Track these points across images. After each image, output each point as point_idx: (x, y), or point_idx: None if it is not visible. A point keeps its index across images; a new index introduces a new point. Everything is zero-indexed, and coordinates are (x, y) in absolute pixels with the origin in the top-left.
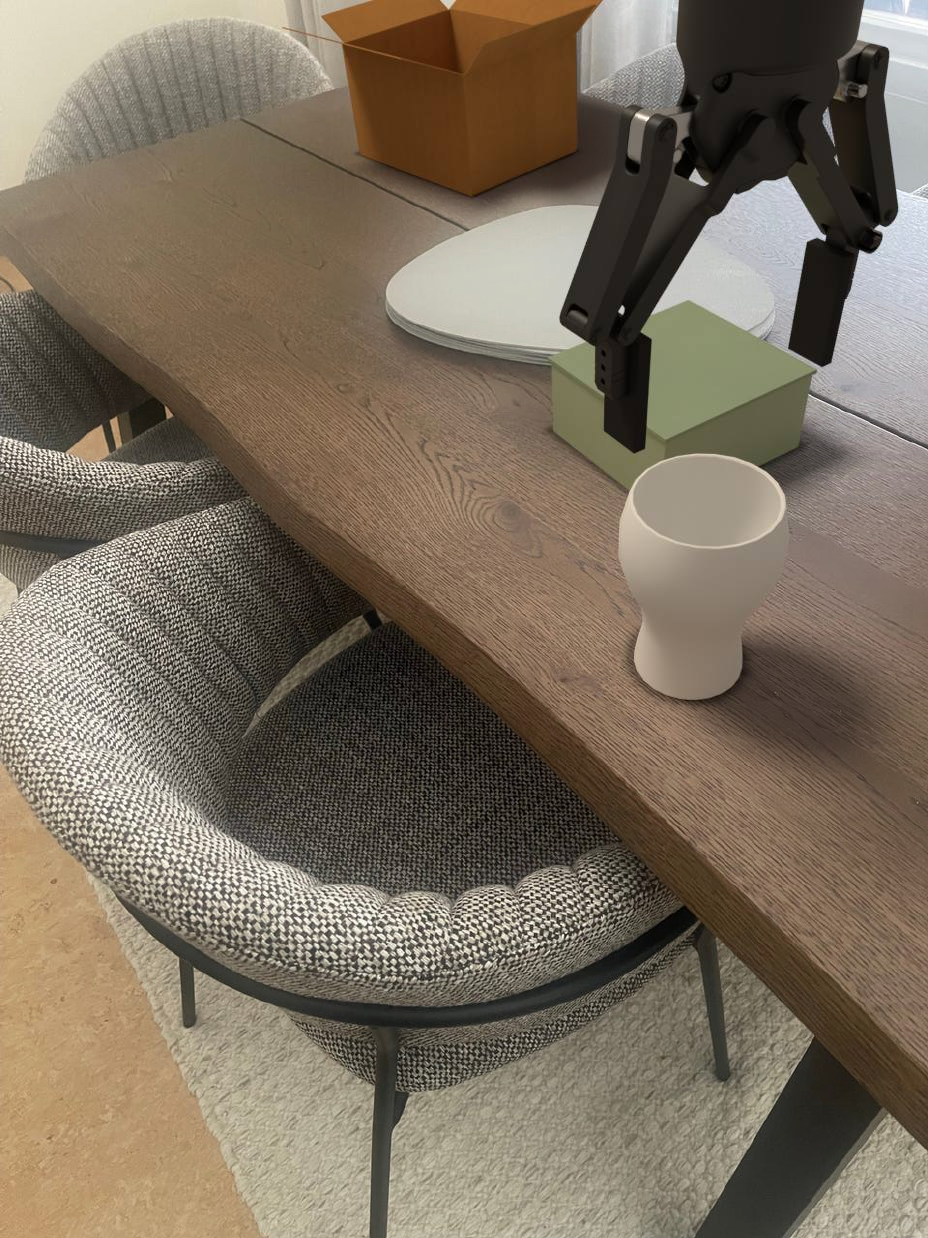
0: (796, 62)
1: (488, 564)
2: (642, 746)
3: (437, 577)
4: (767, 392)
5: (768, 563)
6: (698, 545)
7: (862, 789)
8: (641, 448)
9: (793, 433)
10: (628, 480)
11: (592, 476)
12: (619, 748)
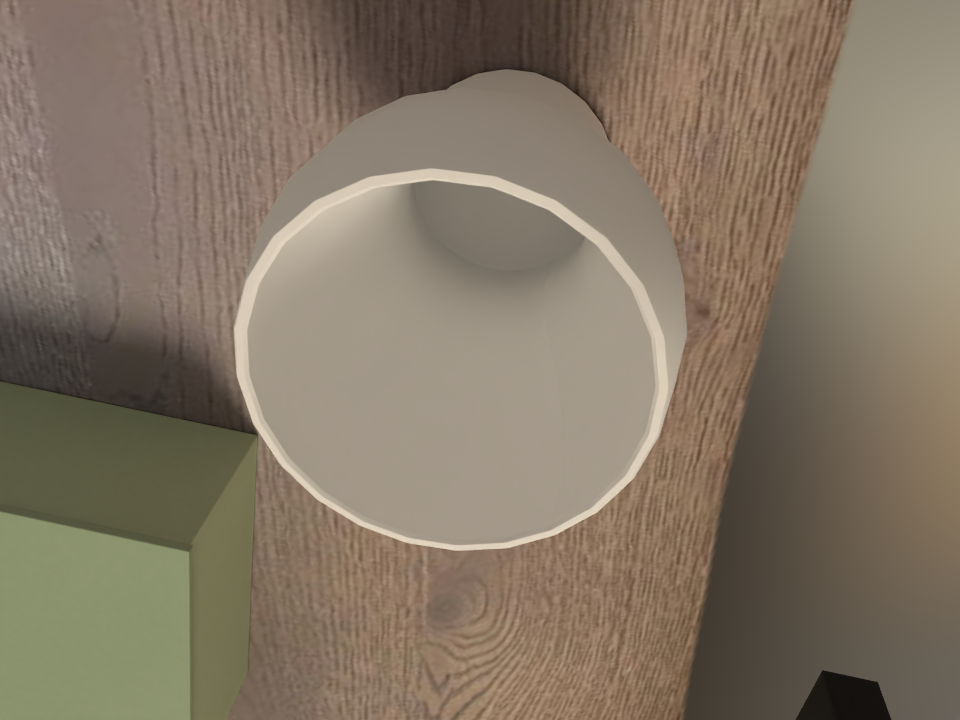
0: None
1: (568, 562)
2: (746, 103)
3: (650, 599)
4: None
5: (469, 120)
6: (382, 324)
7: None
8: (843, 682)
9: None
10: (247, 523)
11: (276, 568)
12: (777, 132)
